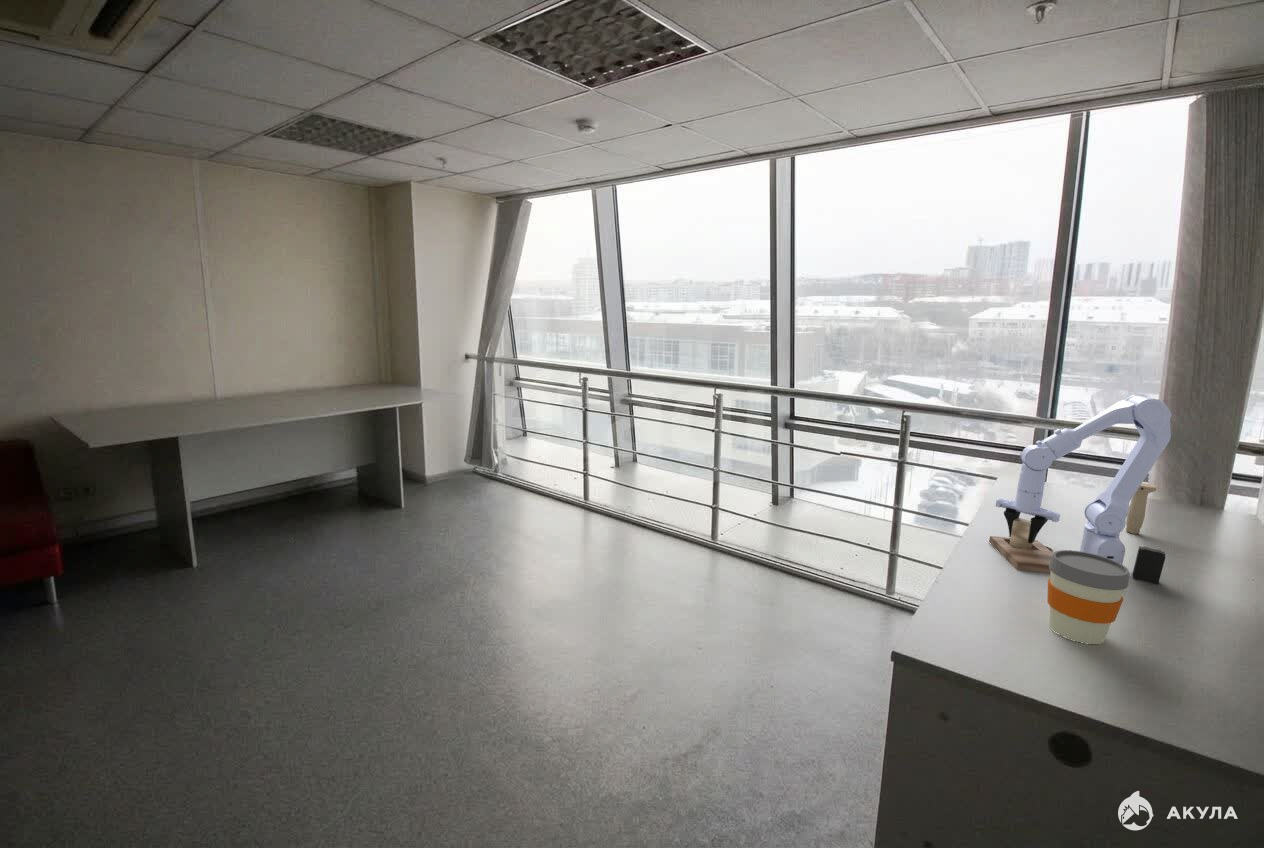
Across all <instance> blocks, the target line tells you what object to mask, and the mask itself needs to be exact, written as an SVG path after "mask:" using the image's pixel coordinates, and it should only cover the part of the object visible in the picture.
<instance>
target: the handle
mask: <svg viewBox="0 0 1264 848" xmlns="http://www.w3.org/2000/svg"><path fill="white" fill-rule="evenodd" d="M1156 491H1157V486H1156V485H1154V484H1150V483H1147V482H1142V484H1141V485H1140V487H1139V488H1138V490H1137V491H1136V493H1135V494H1134V496H1133V497H1132V499H1131V500H1130V502H1129V513H1128V515H1127V517H1126V525H1125V532H1126V533H1129V534H1131V533H1132V535H1139V534H1140V532H1141V529H1142V527H1143V524H1144V522H1145V521H1144V520H1145V518H1146V517H1145V516H1146V508H1147V501H1148V496H1149V494H1150V493H1154V492H1156Z"/></svg>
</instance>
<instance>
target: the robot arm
mask: <svg viewBox="0 0 1264 848" xmlns="http://www.w3.org/2000/svg"><path fill="white" fill-rule="evenodd" d="M1172 415H1173V414H1172V412H1171V411H1170V409H1169V407H1167V405H1166V403H1165V402H1164V401H1162V400H1160V399H1157V398H1151V397H1148V396H1147V395H1144V394H1133V395H1130V396H1128V397H1127V398H1126V399H1125V400H1124V399H1123V400H1120V401H1117V402H1115V403H1114V404H1113V405H1111V406H1109V407H1108V408H1106V409H1105V410H1102V411H1101V412H1100V413H1098V414H1097V415H1095V416H1093V417H1091V418H1090V419H1087V421H1085V422H1083V423H1081V424H1080V425H1078V426H1077V427H1075V428H1065V427H1064V428H1062V429H1060V428H1057V429H1056V430H1054V431H1053V432H1054V433H1053V434H1051V435H1050V436H1048V437H1046V438H1044V439H1042V440H1037V441H1035V443H1036V444H1030V445H1027V446H1026V447H1024V449H1023V450H1022V451H1021V452H1020V456H1019V457H1020V459H1021V461H1022V465H1021V470H1020V472H1019V478H1018V483H1017V491H1016V497H1015V501H1013V500H1008V499H1003V498H997V499H996V501H995V507H996V508H1003V509H1005V510H1004V511H1003V516H1004V517H1005V519H1006V523H1007V527H1008V533H1009V534H1008V535H1009V536H1008V538H1010V537H1011V532H1012V526H1013V521H1014V520H1016V519H1018V518H1020V515H1021V513H1022V514H1026V515H1030V516H1034V517H1031V518H1030V521H1031V530H1030V535H1029V542H1028V543H1033V542H1034V541H1035V540H1036V538H1037V537H1038V535H1039V532H1040V531H1041V529H1042V528H1043V527H1044V525H1045V524H1047V522H1048V521H1051V522H1053V523H1058V522H1059V521H1060V518H1061V517H1060V516H1061V513H1058V512H1054V511H1051V510H1049V509H1045V508H1043V507H1041V506H1042V503H1043V502H1042V501H1043V496H1044V490H1045V484H1046V479H1047V469H1049V468H1050V467H1051V466H1052V464H1053V461H1056V460H1058V459H1060V458H1062V457H1064V456H1066V455H1067V454H1070V453H1071V452H1074V451H1075V450H1078V449H1079V448H1080V447H1081V445H1082V442H1083V441H1084V440H1085V439H1088V438H1089V437H1092V436H1094V435H1096V434H1098V433H1100V432H1102V431H1105V430H1106V429H1108V428H1110V427H1113V426H1114V425H1119V424H1121V425H1122V424H1123V425H1134V426H1135V428H1136V430H1137V432H1138V434H1139V438H1138V440H1137V442H1136V443H1135V445H1134V447H1132V449H1131V451H1130V452H1129V454H1128V456H1127V457H1126V459H1125V460H1124V462H1123V464H1122V465H1121V466H1120V468H1119V469H1118V471H1117V472H1116V475H1115V476H1114V477H1113V479H1112V481H1111V482H1110V484H1109V486H1108V487H1107V488H1106V490H1104V491H1103V492H1102V493H1100V494H1098V496H1097V497H1096V498H1095V499H1094V500H1093V501H1091V502H1090V503H1088V504H1087V505H1086V506H1085V508H1084V511H1083V512H1084V513H1083V515H1084V517H1085V519H1087V522H1086V523H1085V524H1084V528H1083V533H1082V539H1081V543H1080V549H1079V551H1080V552H1086V553H1091V554H1095V555H1099V556H1102V557H1106V558H1108V559H1111V560H1114V561H1116V562H1118V563H1120V564H1122V565H1124V564H1123V563H1124V558H1125V554H1126V546H1125V544H1124V543H1123V542H1122V541H1121V538H1120V536H1121V535H1120V533H1121V532H1123V531H1124V529H1126V519H1127V515H1128V513H1129V506H1130V503H1131V499H1132V497H1133V496H1134V494H1135V493H1136V491H1137V490H1138V488H1139V487H1140V485H1141V484H1142V483H1144V480H1145V479H1146V478H1147V476H1148V474H1149V473H1150V471H1151V470H1152V468H1153V467H1154V466H1155V464H1156V462H1157V461H1158V459H1159V458H1160V456H1161V455H1162V453H1163V451H1164V450H1165V449H1166V447H1167V446H1168V444H1169V442H1170V441H1171V438H1172V437H1171V436H1172V433H1171V418H1172Z"/></svg>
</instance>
